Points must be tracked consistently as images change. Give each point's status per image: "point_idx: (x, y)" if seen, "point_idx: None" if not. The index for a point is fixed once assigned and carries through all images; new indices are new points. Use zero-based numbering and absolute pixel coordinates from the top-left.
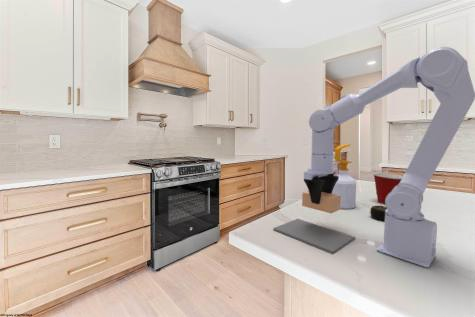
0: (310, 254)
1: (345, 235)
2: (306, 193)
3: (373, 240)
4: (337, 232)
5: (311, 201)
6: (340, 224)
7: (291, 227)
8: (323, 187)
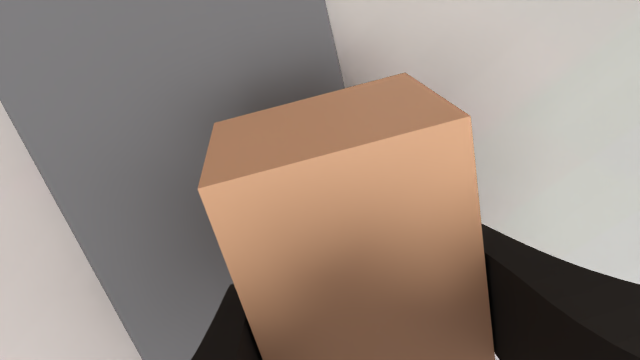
0: (51, 355)
1: None
2: (224, 250)
3: None
4: None
5: (225, 294)
6: (521, 138)
7: (120, 66)
8: (531, 320)
